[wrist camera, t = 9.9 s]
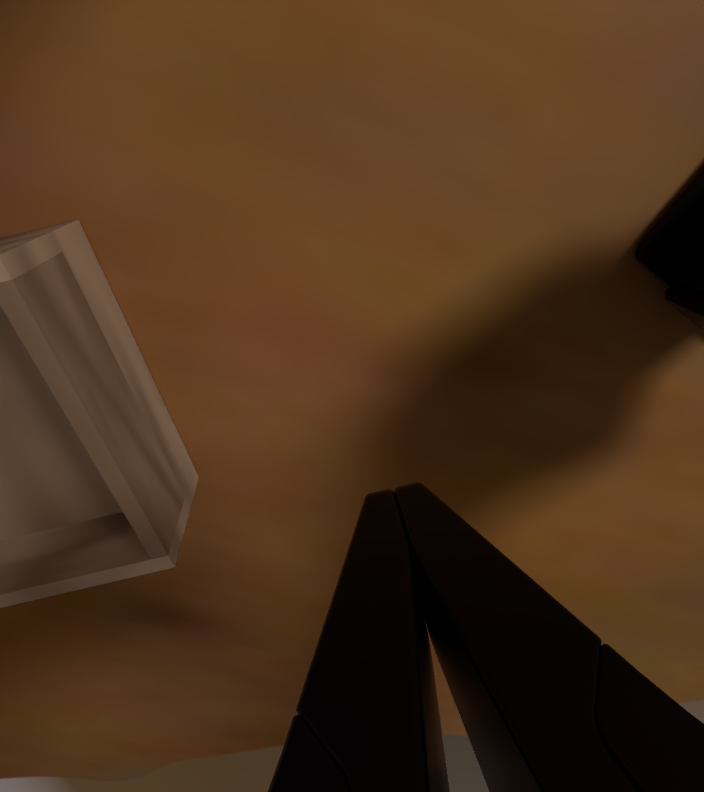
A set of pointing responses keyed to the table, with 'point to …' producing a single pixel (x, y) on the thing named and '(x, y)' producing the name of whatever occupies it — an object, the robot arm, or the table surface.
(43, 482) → the tray
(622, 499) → the table surface
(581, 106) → the table surface
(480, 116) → the table surface
